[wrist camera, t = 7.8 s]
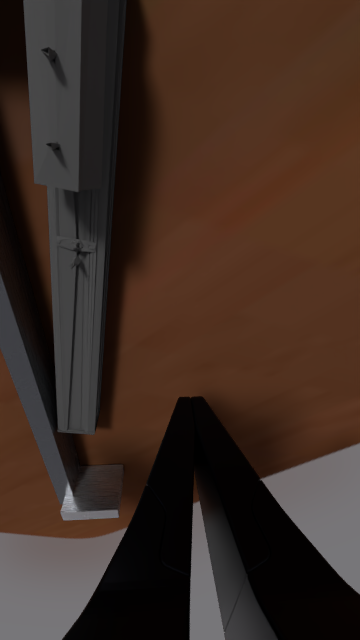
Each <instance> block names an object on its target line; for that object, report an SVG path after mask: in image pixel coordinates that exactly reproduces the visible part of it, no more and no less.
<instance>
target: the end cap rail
mask: <svg viewBox="0 0 360 640" xmlns="http://www.w3.org/2000/svg"><path fill="white" fill-rule="evenodd" d="M0 348H1V351H2V353H3V356H4V358H5V361H6V364H7V366H8V369H9V372H10V374H11V377H12V379H13V382H14V385H15V387H16V390H17V392H18V395H19V398H20V400H21V403H22V405H23V408H24V411H25V413H26V416H27V418H28V421H29V424H30V426H31V429H32V432H33V434H34V437H35V439H36V442H37V445H38V447H39V450H40V452H41V455H42V458H43V460H44V463H45V465H46V468H47V471H48V473H49V476H50V478H51V481H52V484H53V486H54V489H55V492H56V494H57V497H58V499H59V502H60V504H63V506H62V509H61V515H62V518H63V520H82V519H101V518H119V512H120V503H121V494H122V485H123V476H124V469H123V464H119V465H93V466H80V463H79V459H78V456H77V452H76V448H75V445H74V441H73V437H72V434H71V433H63V432H57V429H58V417H57V395H56V375H55V371H54V368H53V364H52V361H51V357H50V353H49V350H48V346H47V342H46V339H45V335H44V331H43V328H42V324H41V320H40V317H39V313H38V309H37V306H36V302H35V298H34V295H33V291H32V287H31V284H30V280H29V276H28V273H27V269H26V265H25V262H24V258H23V254H22V251H21V247H20V243H19V240H18V236H17V232H16V229H15V225H14V221H13V218H12V214H11V210H10V207H9V203H8V199H7V196H6V192H5V188H4V185H3V181H2V178H1V174H0Z"/></svg>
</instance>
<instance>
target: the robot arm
mask: <svg viewBox="0 0 360 640" xmlns="http://www.w3.org/2000/svg"><path fill="white" fill-rule="evenodd" d="M194 472H195V478H196V483H197V488H198V494H199V499H200V505H201V509H202V515H203V521H204V526H205V532H206V537H207V542H208V548H209V553H210V559H211V564H212V570H213V575H214V581H215V585H216V591H217V596H218V602H219V608H220V612H221V618H222V624H223V629H224V632H225V633H224V635H225V640H360V594H358V593H357V592H356V591H355V590H354V589H353V588H352V587H351V586H349V585H348V584H347V583H346V582H345V581H344V580H343V579H342V578H341V577H340V576H339V575H338V574H337V572H336V571H335V570H334V569H333V568H332V567H331V566H330V564H329V563H328V562H327V561H326V560H325V558H324V557H323V556H322V555H321V554H320V553H319V552H318V550H317V549H316V548H315V547H314V546H313V545H312V543H311V542H310V541H309V540H308V539H307V538H306V536H305V535H304V534H303V533H302V532H301V531H300V529H298V527H297V526H296V525H295V523H294V522H293V521H292V520H291V519H290V518H289V516H288V515H287V514H286V513H285V511H284V510H283V509H282V508H281V506H280V505H279V504H278V502H277V501H276V500H275V498H274V497H273V496H272V494H271V493H270V491H269V490H268V489H267V487H266V486H265V484H264V483H263V482H262V480H260V477H259V476H258V475H257V473H256V472H255V470H254V469H253V467H252V466H251V465H250V463H249V462H248V460H247V459H246V457H245V456H244V455H243V453H242V452H241V450H240V449H239V447H238V446H237V445H236V443H235V442H234V440H233V439H232V438H231V436H230V435H229V433H228V432H227V430H226V429H225V428H224V426H223V425H222V423H221V422H220V420H219V419H218V418H217V416H216V415H215V413H214V412H213V410H212V409H211V408H210V406H209V405H208V403H207V402H206V400H205V399H204V398H203V397H201V396H197V397H191V398H190V397H179V398H178V400H177V403H176V406H175V408H174V411H173V414H172V416H171V419H170V422H169V424H168V427H167V430H166V432H165V435H164V438H163V440H162V443H161V446H160V448H159V451H158V454H157V456H156V459H155V462H154V464H153V467H152V470H151V472H150V475H149V478H148V480H147V483H146V486H145V488H144V491H143V493H142V496H141V498H140V501H139V503H138V506H137V508H136V511H135V513H134V515H133V517H132V520H131V522H130V524H129V526H128V528H127V530H126V532H125V534H124V537H123V538H122V540H121V542H120V544H119V546H118V548H117V550H116V552H115V554H114V556H113V557H112V559H111V561H110V563H109V565H108V567H107V569H106V571H105V573H104V575H103V577H102V579H101V581H100V583H99V585H98V586H97V588H96V590H95V592H94V593H93V595H92V597H91V599H90V600H89V602H88V604H87V606H86V607H85V609H84V610H83V612H82V613H81V615H80V616H79V618H78V619H77V620H76V622H75V623H74V624H73V626H72V627H71V629H70V630H69V631H68V633H67V634H66V635H65V637H64V638H63V639H62V640H190V639H189V638H190V636H189V635H190V577H191V548H192V545H191V544H192V515H193V485H194Z"/></svg>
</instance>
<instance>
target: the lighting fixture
mask: <svg viewBox="0 0 360 640" xmlns="http://www.w3.org/2000/svg"><path fill="white" fill-rule="evenodd" d="M23 3H24V19H25V36H26V52H27V69H28V85H29V102H30V118H31V135H32V151H33V168H34V183H36V184H41V185H46V186H47V197H48V219H49V241H50V263H51V285H52V307H53V329H54V351H55V373H56V395H57V417H58V429H57V432H63V433H77V434H91V435H94V434H95V430H96V425H97V421H98V417H99V413H100V396H101V381H102V366H103V351H104V336H105V320H106V305H107V290H108V275H109V260H110V245H111V230H112V215H113V199H114V184H115V169H116V154H117V139H118V124H119V109H120V94H121V78H122V63H123V48H124V33H125V18H126V3H127V0H23Z"/></svg>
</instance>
